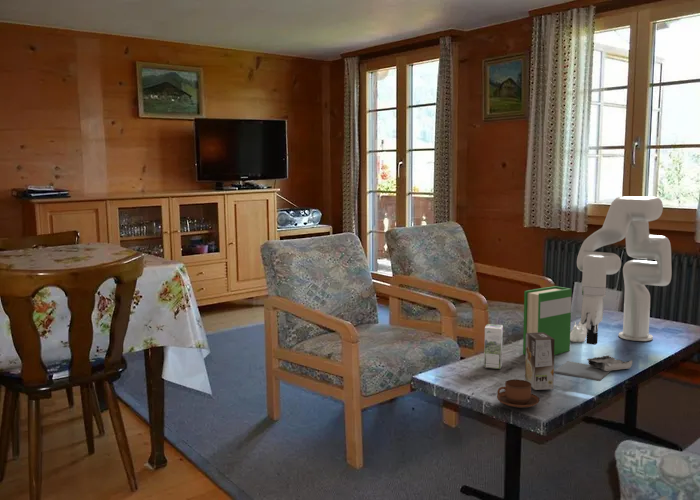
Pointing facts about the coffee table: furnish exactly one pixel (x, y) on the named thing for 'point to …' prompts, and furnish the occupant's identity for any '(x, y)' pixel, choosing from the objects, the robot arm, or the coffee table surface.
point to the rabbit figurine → (578, 333)
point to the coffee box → (539, 360)
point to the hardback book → (548, 315)
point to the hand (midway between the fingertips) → (591, 343)
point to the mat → (581, 371)
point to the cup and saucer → (517, 394)
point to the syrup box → (493, 346)
